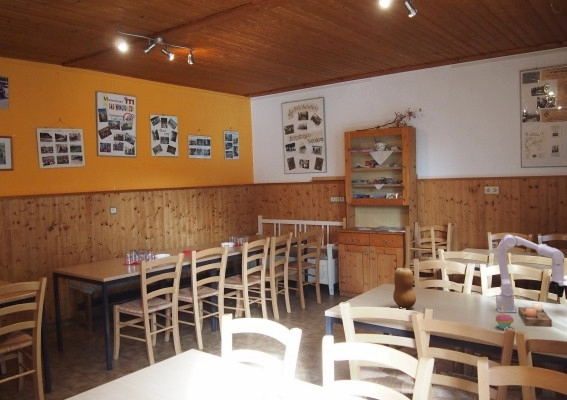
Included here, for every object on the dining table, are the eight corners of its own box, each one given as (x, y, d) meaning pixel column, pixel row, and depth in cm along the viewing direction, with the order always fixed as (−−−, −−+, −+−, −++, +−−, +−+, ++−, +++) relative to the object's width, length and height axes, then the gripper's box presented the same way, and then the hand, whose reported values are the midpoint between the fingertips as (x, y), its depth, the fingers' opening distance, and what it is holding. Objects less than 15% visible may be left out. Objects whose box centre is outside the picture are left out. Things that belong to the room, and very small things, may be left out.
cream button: (533, 314, 257) (533, 305, 257) (531, 311, 262) (531, 302, 262) (543, 314, 256) (542, 305, 256) (541, 311, 260) (541, 303, 260)
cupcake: (492, 326, 249) (491, 303, 248) (507, 324, 249) (507, 302, 249) (501, 331, 240) (500, 308, 239) (517, 329, 241) (516, 306, 240)
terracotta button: (527, 319, 249) (526, 310, 249) (525, 316, 254) (524, 307, 253) (537, 319, 248) (536, 310, 247) (535, 317, 252) (534, 307, 252)
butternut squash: (420, 309, 285) (419, 268, 284) (402, 313, 280) (400, 271, 278) (406, 304, 298) (404, 265, 296) (388, 307, 293) (387, 268, 291)
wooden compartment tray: (526, 325, 246) (526, 319, 246) (518, 313, 267) (518, 307, 267) (551, 326, 243) (551, 319, 242) (542, 313, 264) (541, 307, 263)
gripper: (569, 274, 254) (570, 299, 255) (562, 268, 268) (562, 292, 269) (554, 274, 256) (555, 298, 257) (548, 268, 270) (548, 292, 271)
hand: (558, 295), depth 263 cm, fingers open, 7 cm apart
